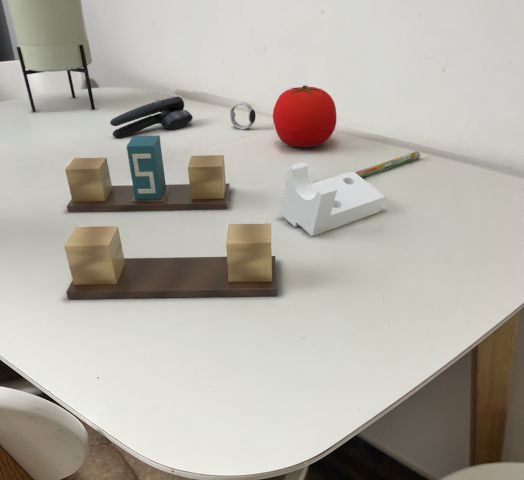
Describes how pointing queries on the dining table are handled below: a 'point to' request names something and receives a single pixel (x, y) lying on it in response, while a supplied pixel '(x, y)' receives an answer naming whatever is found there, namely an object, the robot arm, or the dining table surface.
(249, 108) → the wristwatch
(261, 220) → the dining table surface
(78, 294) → the board
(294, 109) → the tomato
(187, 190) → the board
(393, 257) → the dining table surface
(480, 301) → the dining table surface
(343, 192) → the bracket
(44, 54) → the planter
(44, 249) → the dining table surface
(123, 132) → the can opener
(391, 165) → the pencil
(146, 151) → the letter S tile
